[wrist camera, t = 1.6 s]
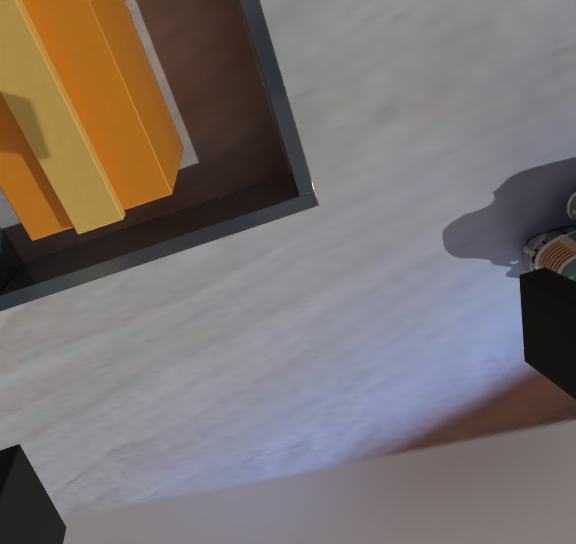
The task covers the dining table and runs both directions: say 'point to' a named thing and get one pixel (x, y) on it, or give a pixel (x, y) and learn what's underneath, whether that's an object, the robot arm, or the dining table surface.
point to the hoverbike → (554, 249)
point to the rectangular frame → (184, 224)
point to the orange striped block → (79, 116)
